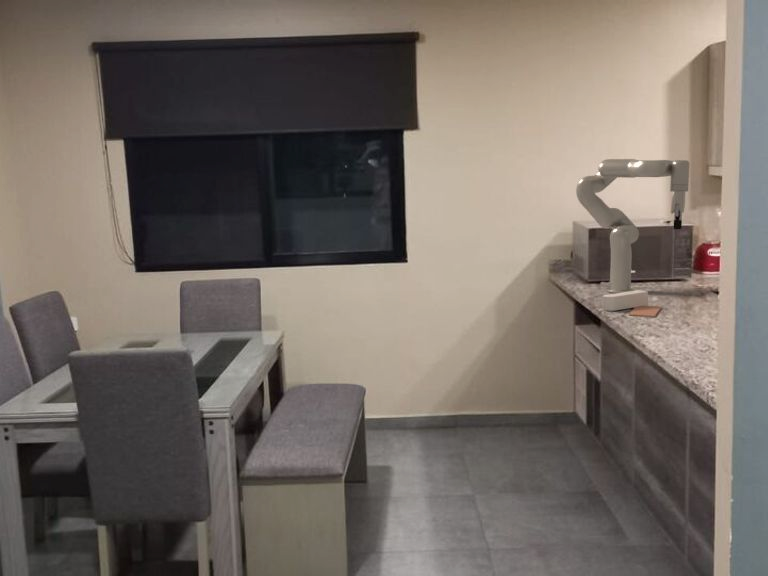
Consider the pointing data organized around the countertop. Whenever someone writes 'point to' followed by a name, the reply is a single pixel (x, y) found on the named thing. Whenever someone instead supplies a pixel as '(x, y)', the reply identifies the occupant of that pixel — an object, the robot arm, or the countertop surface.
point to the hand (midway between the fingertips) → (677, 229)
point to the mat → (645, 311)
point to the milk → (624, 300)
